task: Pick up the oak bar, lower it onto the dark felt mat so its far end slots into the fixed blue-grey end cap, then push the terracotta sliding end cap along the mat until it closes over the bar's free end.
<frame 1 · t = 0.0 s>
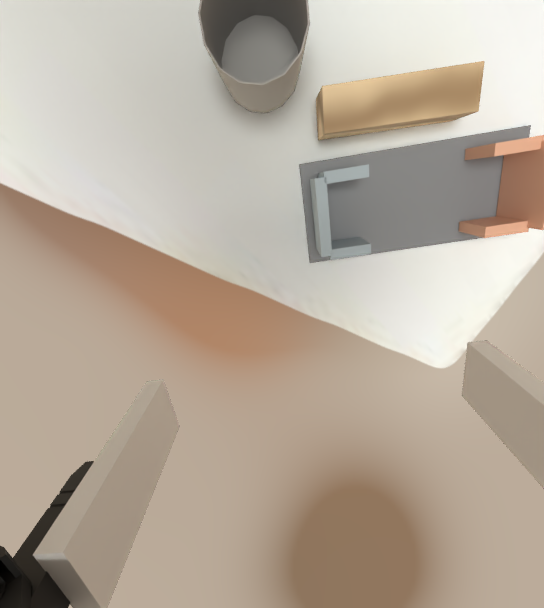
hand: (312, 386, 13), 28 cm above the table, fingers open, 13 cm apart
endcap: (509, 188, 32), point 4 cm above the table, slide at 0.0 cm
tan wooden block: (383, 110, 33), on the table
cup: (260, 68, 32), on the table
seat: (409, 199, 36), on the table
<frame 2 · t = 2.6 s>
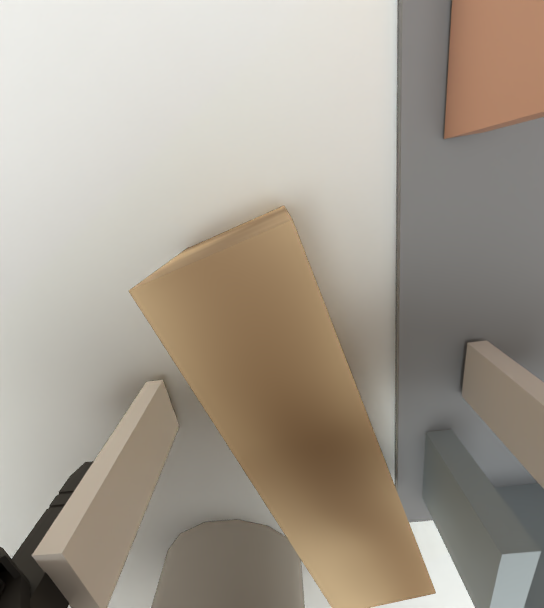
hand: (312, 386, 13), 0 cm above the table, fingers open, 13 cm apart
tan wooden block: (304, 379, 14), on the table
cup: (234, 559, 19), on the table
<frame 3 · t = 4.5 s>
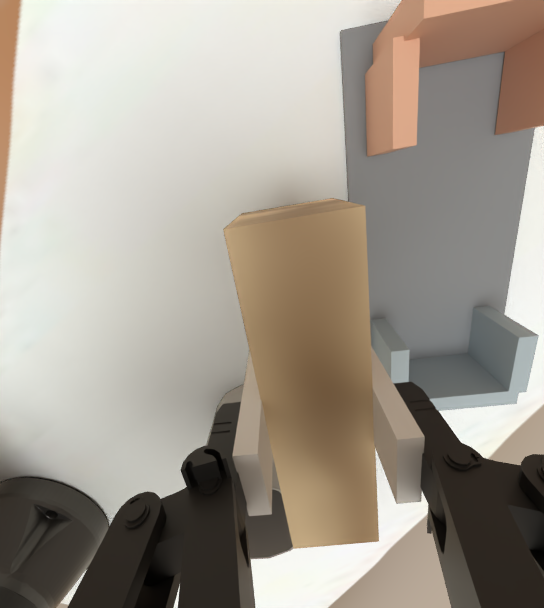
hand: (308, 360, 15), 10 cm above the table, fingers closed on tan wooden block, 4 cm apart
endcap: (476, 71, 15), point 4 cm above the table, slide at 0.0 cm
tan wooden block: (306, 352, 16), point 9 cm above the table, touching gripper
cup: (258, 415, 30), on the table
seat: (431, 234, 22), on the table
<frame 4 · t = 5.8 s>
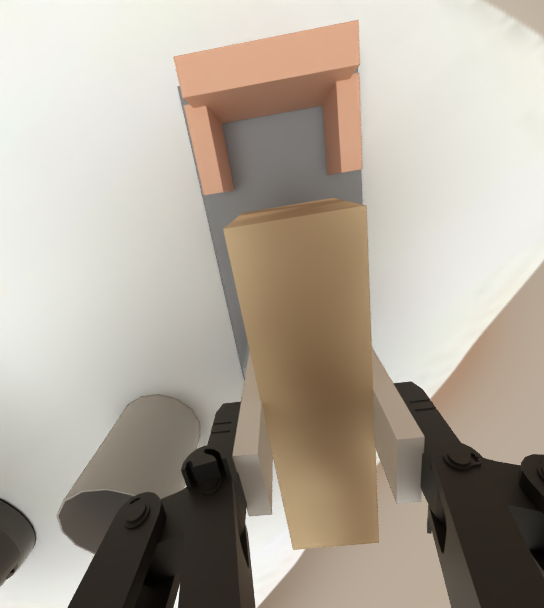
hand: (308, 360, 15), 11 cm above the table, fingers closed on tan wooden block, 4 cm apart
endcap: (274, 128, 17), point 4 cm above the table, slide at 0.0 cm
tan wooden block: (306, 352, 16), point 11 cm above the table, touching gripper
cup: (162, 424, 32), on the table
seat: (290, 259, 24), on the table
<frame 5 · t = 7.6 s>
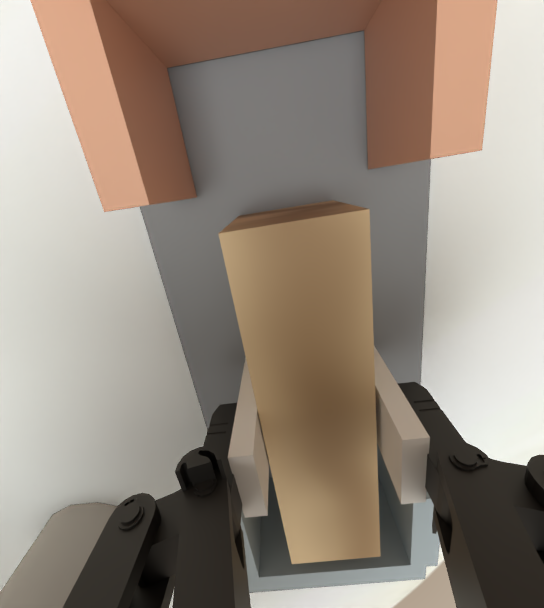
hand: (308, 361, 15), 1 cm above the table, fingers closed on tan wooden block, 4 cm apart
endcap: (268, 58, 8), point 4 cm above the table, slide at 0.0 cm
tan wooden block: (305, 359, 15), resting on seat, touching gripper
cup: (106, 538, 22), on the table
seat: (297, 313, 14), on the table
when the fingers open (1 cm above the table, at t = 7.6 s): tan wooden block stays where it is, resting on seat.
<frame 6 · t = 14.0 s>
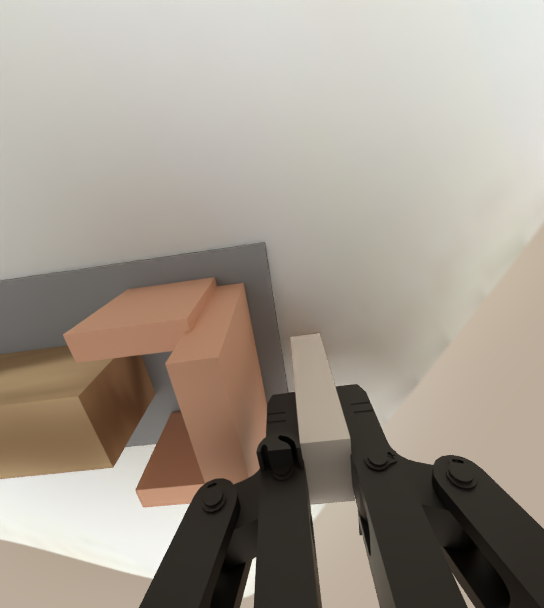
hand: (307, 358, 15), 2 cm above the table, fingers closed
endcap: (188, 401, 13), point 4 cm above the table, slide at 0.4 cm, touching gripper
tan wooden block: (25, 381, 18), resting on seat
seat: (66, 372, 18), on the table
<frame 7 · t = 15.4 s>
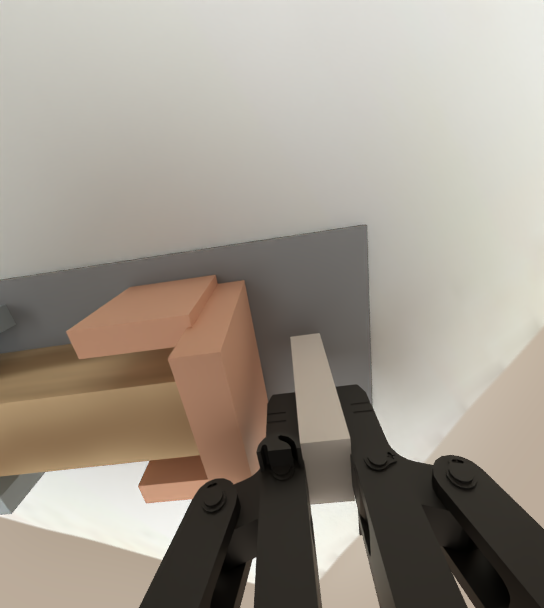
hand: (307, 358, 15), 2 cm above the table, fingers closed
endcap: (190, 397, 14), point 4 cm above the table, slide at 5.3 cm, touching gripper
tan wooden block: (106, 369, 17), resting on seat
seat: (147, 360, 17), on the table
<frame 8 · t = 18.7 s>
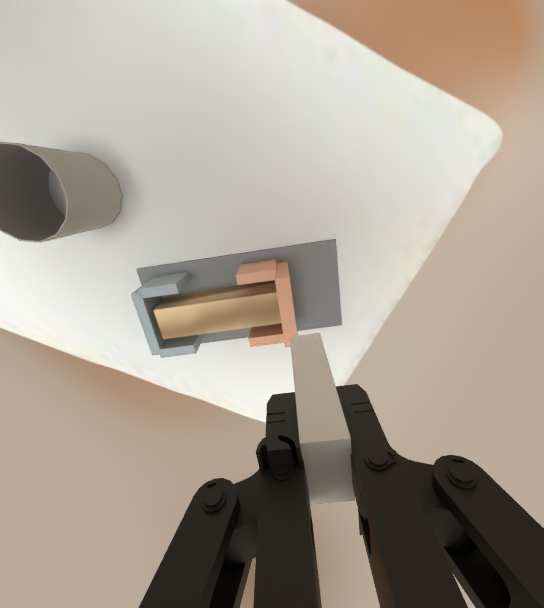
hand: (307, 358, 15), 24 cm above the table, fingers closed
endcap: (268, 304, 36), point 4 cm above the table, slide at 5.3 cm
tan wooden block: (224, 301, 40), resting on seat
cup: (88, 192, 35), on the table
seat: (242, 297, 40), on the table
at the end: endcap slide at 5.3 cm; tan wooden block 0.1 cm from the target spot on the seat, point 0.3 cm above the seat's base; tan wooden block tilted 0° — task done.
